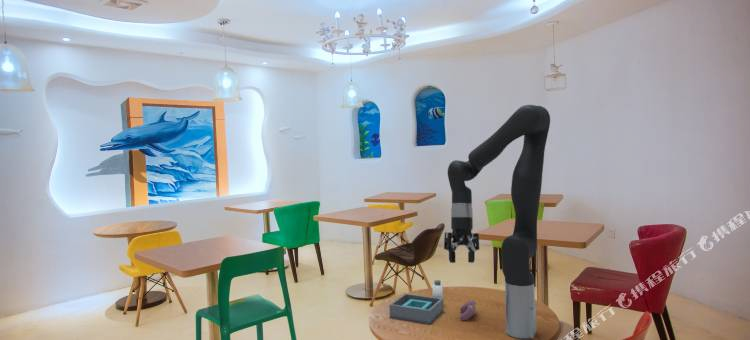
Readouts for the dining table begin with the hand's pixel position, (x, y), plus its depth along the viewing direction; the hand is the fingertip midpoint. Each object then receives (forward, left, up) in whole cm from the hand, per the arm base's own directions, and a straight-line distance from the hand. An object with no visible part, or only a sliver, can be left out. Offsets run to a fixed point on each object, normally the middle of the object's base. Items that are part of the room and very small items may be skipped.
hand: (462, 262), depth 156 cm
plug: (+14, -13, -22) cm, 29 cm away
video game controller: (+1, -7, -22) cm, 23 cm away
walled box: (+18, -1, -22) cm, 29 cm away
